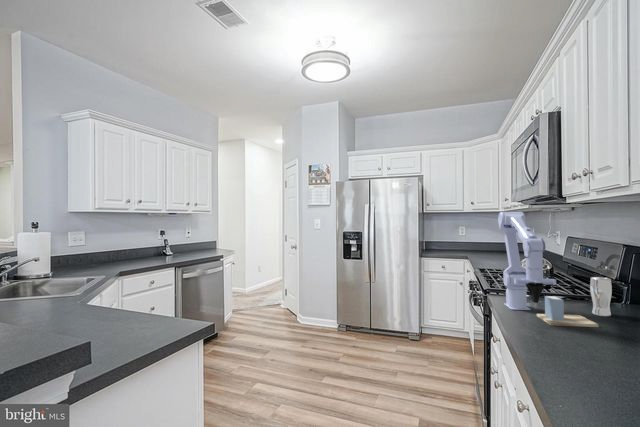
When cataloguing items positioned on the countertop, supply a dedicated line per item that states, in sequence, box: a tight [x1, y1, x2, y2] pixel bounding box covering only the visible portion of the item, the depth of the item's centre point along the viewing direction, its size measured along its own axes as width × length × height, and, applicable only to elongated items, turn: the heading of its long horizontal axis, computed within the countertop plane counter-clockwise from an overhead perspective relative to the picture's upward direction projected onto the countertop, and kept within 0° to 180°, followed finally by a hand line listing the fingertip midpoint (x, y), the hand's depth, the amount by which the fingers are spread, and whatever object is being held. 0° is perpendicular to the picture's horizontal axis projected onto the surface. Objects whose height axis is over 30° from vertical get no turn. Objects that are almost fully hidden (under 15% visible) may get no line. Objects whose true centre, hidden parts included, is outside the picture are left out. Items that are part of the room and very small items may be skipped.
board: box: [536, 313, 600, 328], centre depth 131 cm, size 12×16×1 cm
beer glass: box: [589, 276, 613, 317], centre depth 139 cm, size 7×7×15 cm
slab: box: [544, 295, 565, 321], centre depth 132 cm, size 6×4×8 cm, turn 169°
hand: (535, 302), depth 133 cm, fingers closed
